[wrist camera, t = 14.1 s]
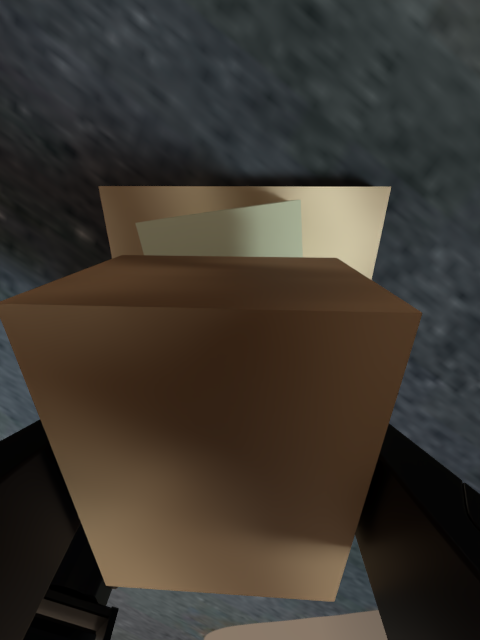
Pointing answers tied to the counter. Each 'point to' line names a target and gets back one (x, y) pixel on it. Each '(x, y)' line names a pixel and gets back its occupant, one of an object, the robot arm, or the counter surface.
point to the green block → (228, 232)
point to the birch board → (316, 204)
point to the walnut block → (215, 413)
